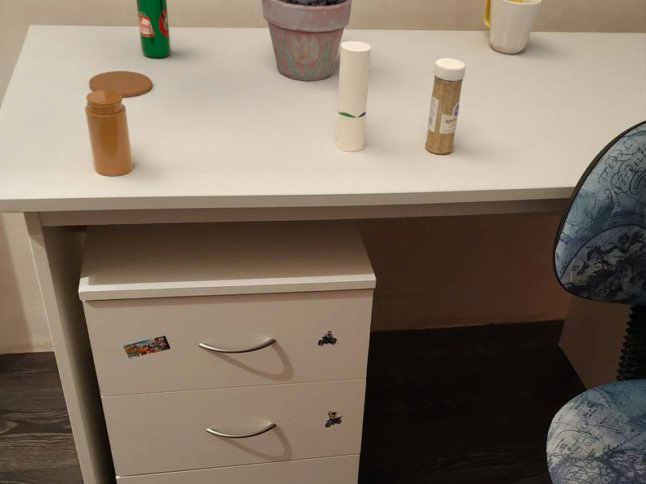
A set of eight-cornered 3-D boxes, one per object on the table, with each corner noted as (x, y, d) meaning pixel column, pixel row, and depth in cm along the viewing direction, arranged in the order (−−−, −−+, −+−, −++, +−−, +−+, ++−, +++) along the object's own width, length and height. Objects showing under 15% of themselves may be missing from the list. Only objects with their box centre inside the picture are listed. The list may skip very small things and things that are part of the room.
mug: (539, 57, 164) (551, 2, 157) (494, 58, 161) (504, 3, 154) (510, 34, 173) (520, -18, 167) (467, 35, 170) (475, -18, 163)
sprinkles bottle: (450, 157, 125) (463, 70, 116) (421, 152, 125) (432, 64, 116) (455, 145, 128) (468, 59, 119) (427, 140, 129) (438, 54, 120)
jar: (110, 179, 110) (99, 107, 103) (86, 166, 112) (74, 95, 105) (141, 168, 113) (132, 97, 106) (117, 155, 115) (107, 85, 108)
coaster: (115, 102, 129) (114, 98, 128) (76, 83, 133) (76, 80, 132) (164, 87, 135) (164, 84, 135) (126, 70, 139) (126, 66, 139)
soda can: (136, 51, 146) (128, -20, 138) (161, 47, 149) (155, -23, 141) (151, 60, 143) (144, -12, 135) (176, 56, 146) (170, -15, 138)
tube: (332, 140, 125) (336, 41, 116) (357, 138, 127) (364, 40, 117) (341, 152, 123) (346, 52, 113) (367, 150, 124) (375, 50, 114)
